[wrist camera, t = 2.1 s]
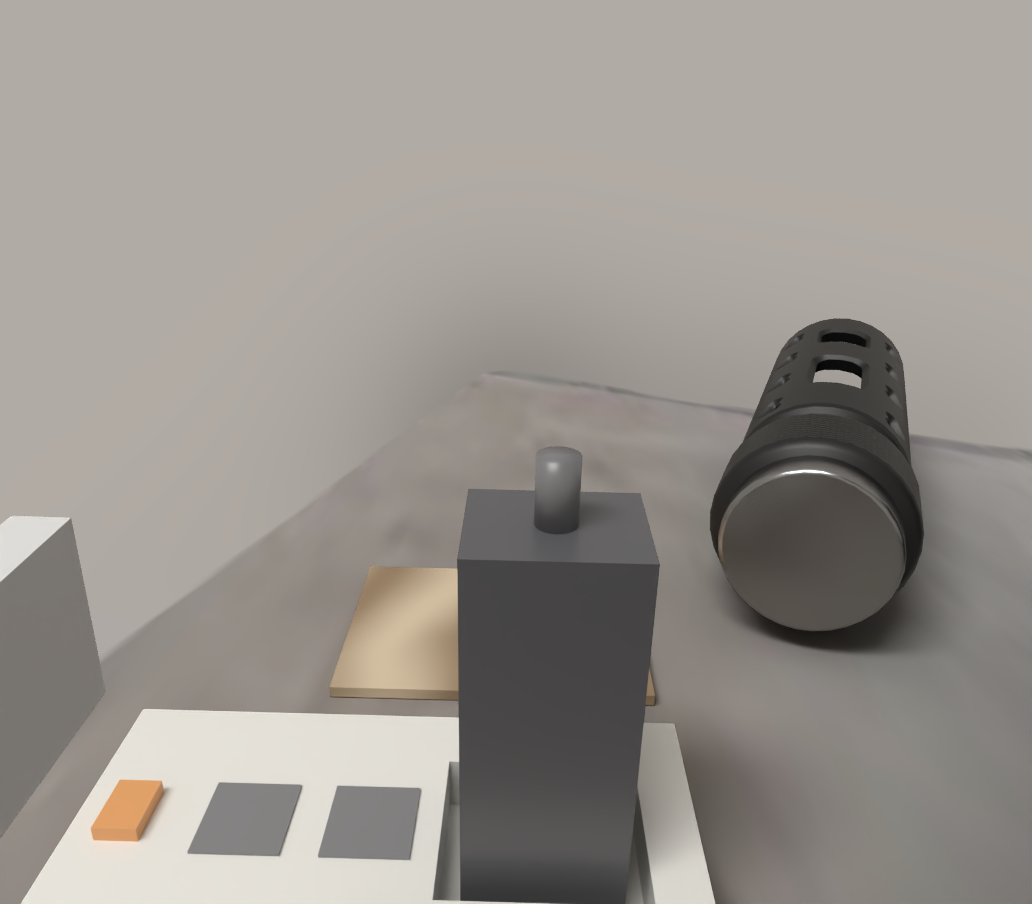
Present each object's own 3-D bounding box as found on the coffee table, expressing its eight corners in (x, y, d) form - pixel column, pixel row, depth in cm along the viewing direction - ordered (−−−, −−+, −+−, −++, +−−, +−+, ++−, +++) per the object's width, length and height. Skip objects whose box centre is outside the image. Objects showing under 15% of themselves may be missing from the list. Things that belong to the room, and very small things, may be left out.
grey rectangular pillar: (611, 825, 29) (646, 429, 24) (622, 929, 26) (667, 491, 20) (469, 821, 29) (468, 425, 24) (460, 925, 26) (457, 486, 20)
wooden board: (629, 581, 45) (629, 573, 45) (654, 705, 36) (655, 695, 36) (370, 574, 45) (370, 566, 45) (330, 696, 36) (329, 687, 36)
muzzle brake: (892, 458, 62) (921, 321, 58) (897, 682, 38) (948, 476, 34) (760, 438, 65) (779, 307, 61) (689, 633, 41) (712, 439, 37)
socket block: (668, 774, 32) (675, 713, 31) (722, 1044, 23) (735, 971, 22) (153, 760, 32) (141, 698, 31) (4, 1022, 23) (-21, 949, 22)
